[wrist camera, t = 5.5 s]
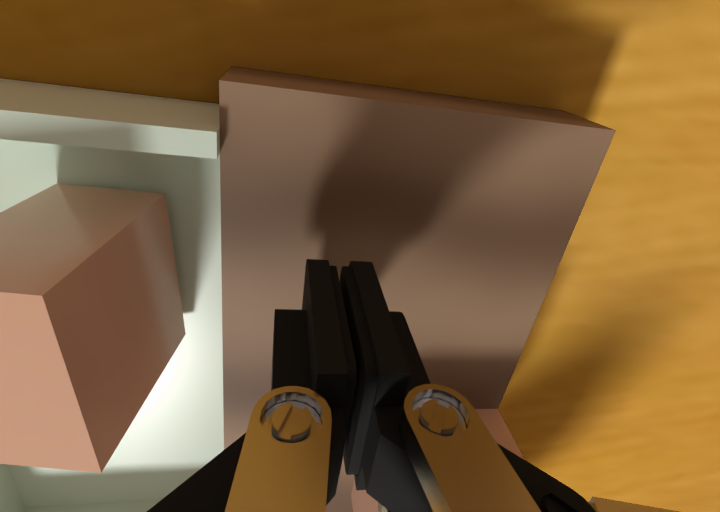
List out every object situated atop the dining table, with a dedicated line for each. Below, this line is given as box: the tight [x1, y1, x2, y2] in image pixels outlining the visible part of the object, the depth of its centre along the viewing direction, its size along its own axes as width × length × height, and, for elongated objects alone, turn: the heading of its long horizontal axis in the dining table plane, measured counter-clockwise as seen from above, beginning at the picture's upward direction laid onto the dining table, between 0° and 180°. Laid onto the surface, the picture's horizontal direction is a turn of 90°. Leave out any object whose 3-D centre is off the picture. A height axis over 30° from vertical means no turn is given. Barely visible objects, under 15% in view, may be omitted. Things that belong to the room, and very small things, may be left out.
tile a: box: [0, 183, 186, 473], centre depth 11 cm, size 5×5×3 cm
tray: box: [0, 78, 224, 512], centre depth 14 cm, size 18×9×3 cm, turn 172°
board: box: [219, 66, 616, 512], centre depth 16 cm, size 18×10×2 cm, turn 172°
